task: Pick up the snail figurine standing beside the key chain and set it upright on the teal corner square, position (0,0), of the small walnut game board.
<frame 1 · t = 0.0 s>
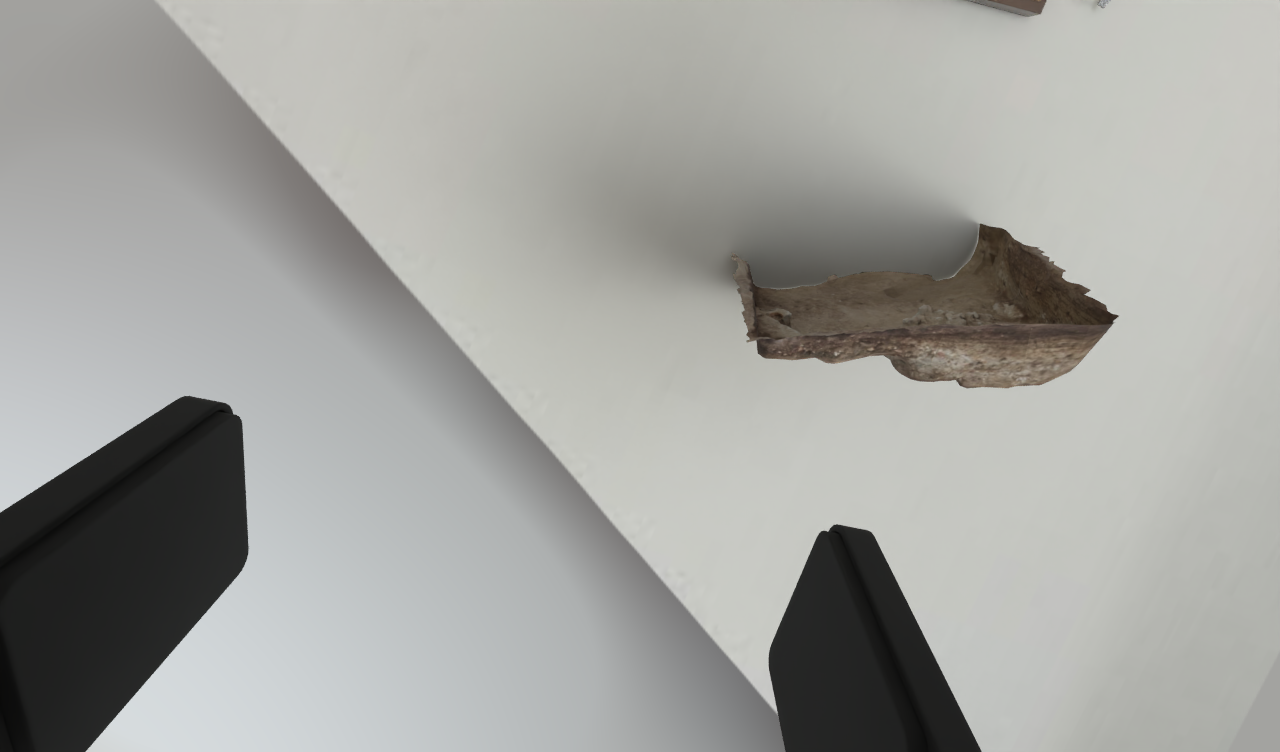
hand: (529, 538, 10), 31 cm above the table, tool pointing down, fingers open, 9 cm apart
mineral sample: (850, 263, 40), on the table
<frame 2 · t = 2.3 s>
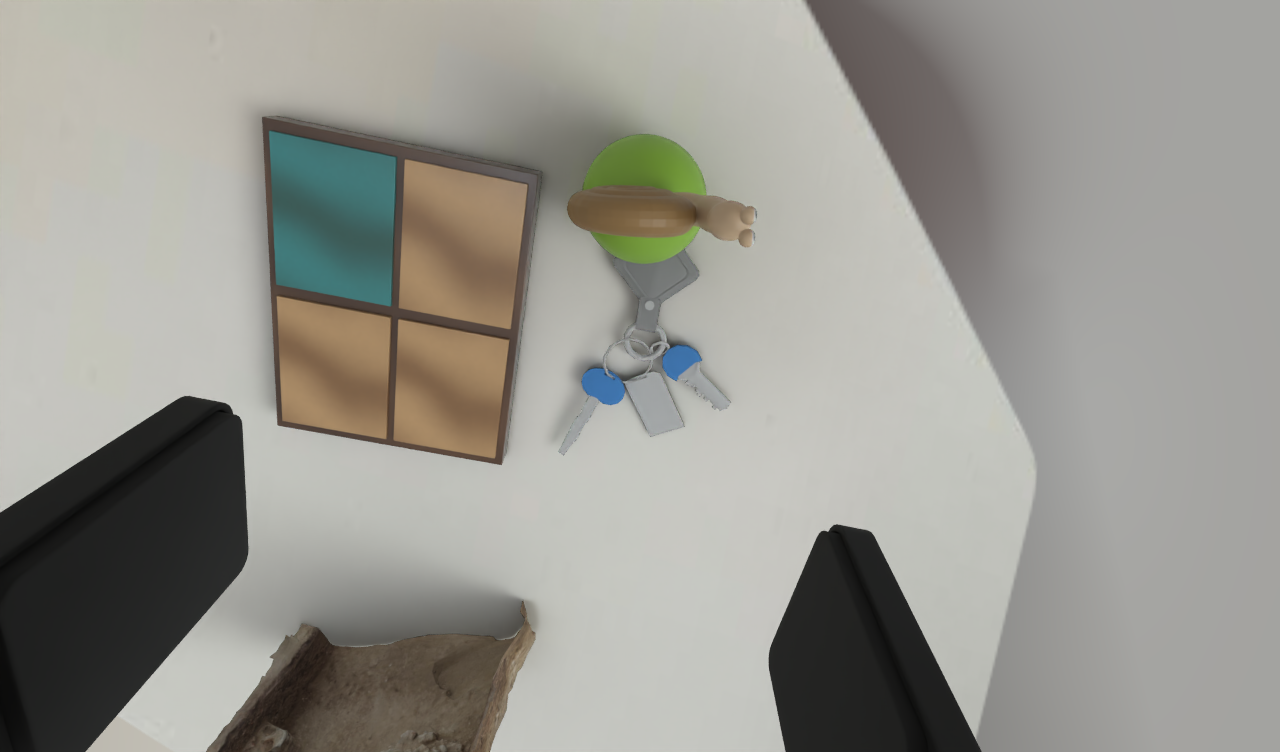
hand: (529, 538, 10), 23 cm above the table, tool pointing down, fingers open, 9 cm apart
key chain: (663, 359, 34), on the table, touching snail figurine
snail figurine: (656, 196, 30), on the table, touching key chain
game board: (404, 304, 32), on the table
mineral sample: (416, 626, 42), on the table
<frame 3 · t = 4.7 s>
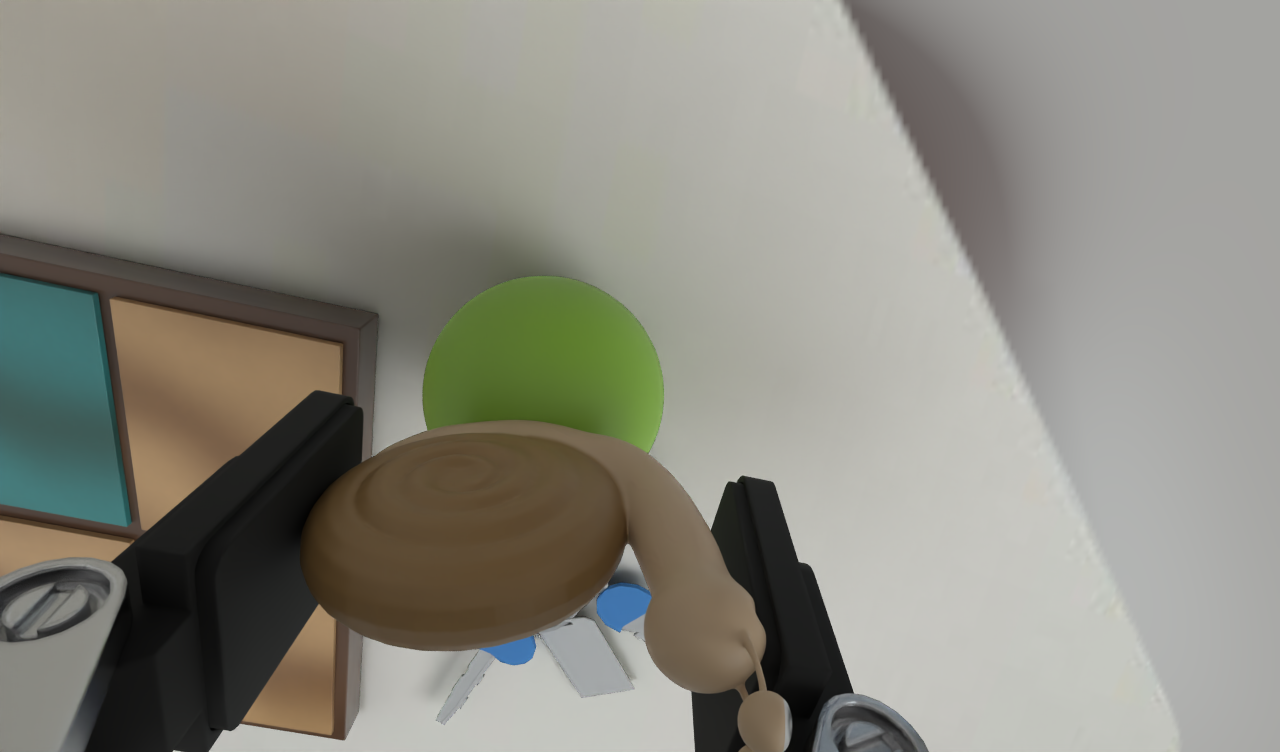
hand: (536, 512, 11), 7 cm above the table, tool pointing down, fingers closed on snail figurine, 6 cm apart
key chain: (599, 594, 21), on the table, touching snail figurine
snail figurine: (580, 357, 17), on the table, touching gripper, key chain
game board: (169, 507, 20), on the table
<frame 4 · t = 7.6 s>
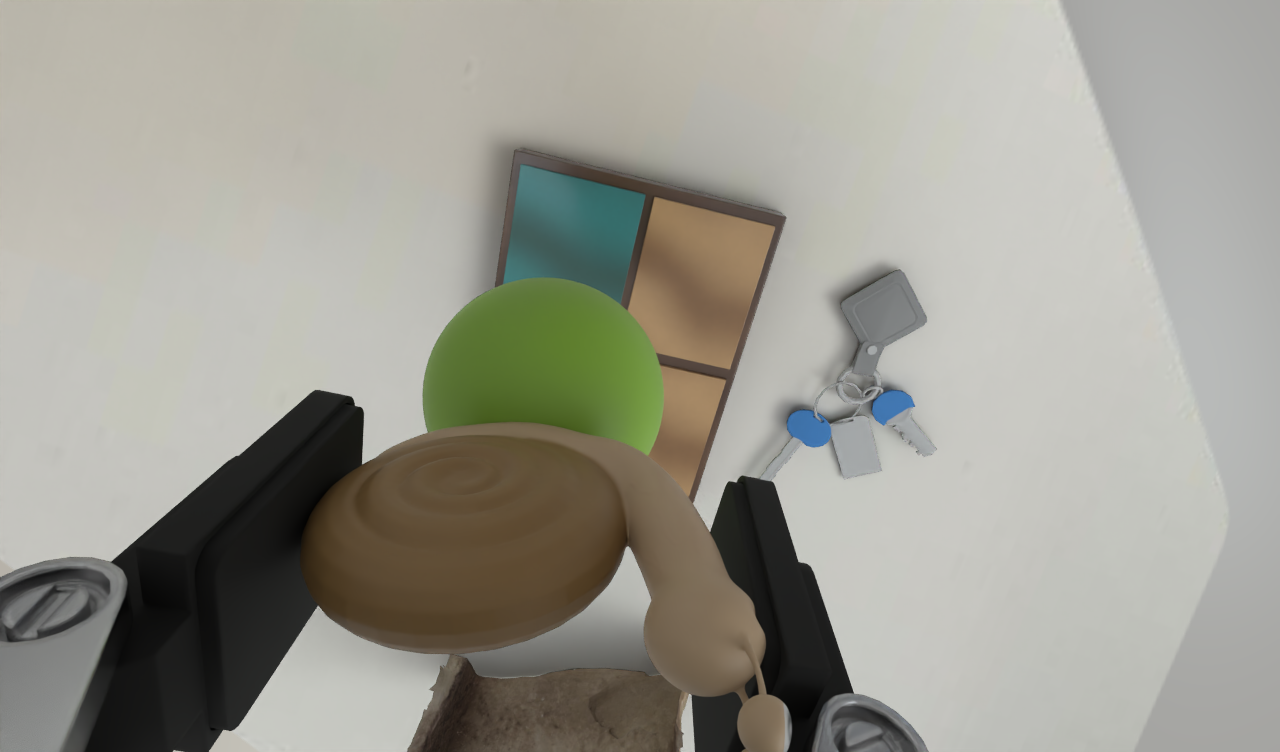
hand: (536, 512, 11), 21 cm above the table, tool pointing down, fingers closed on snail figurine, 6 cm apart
key chain: (869, 403, 33), on the table
snail figurine: (580, 358, 17), point 14 cm above the table, touching gripper
game board: (615, 339, 32), on the table
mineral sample: (567, 659, 41), on the table
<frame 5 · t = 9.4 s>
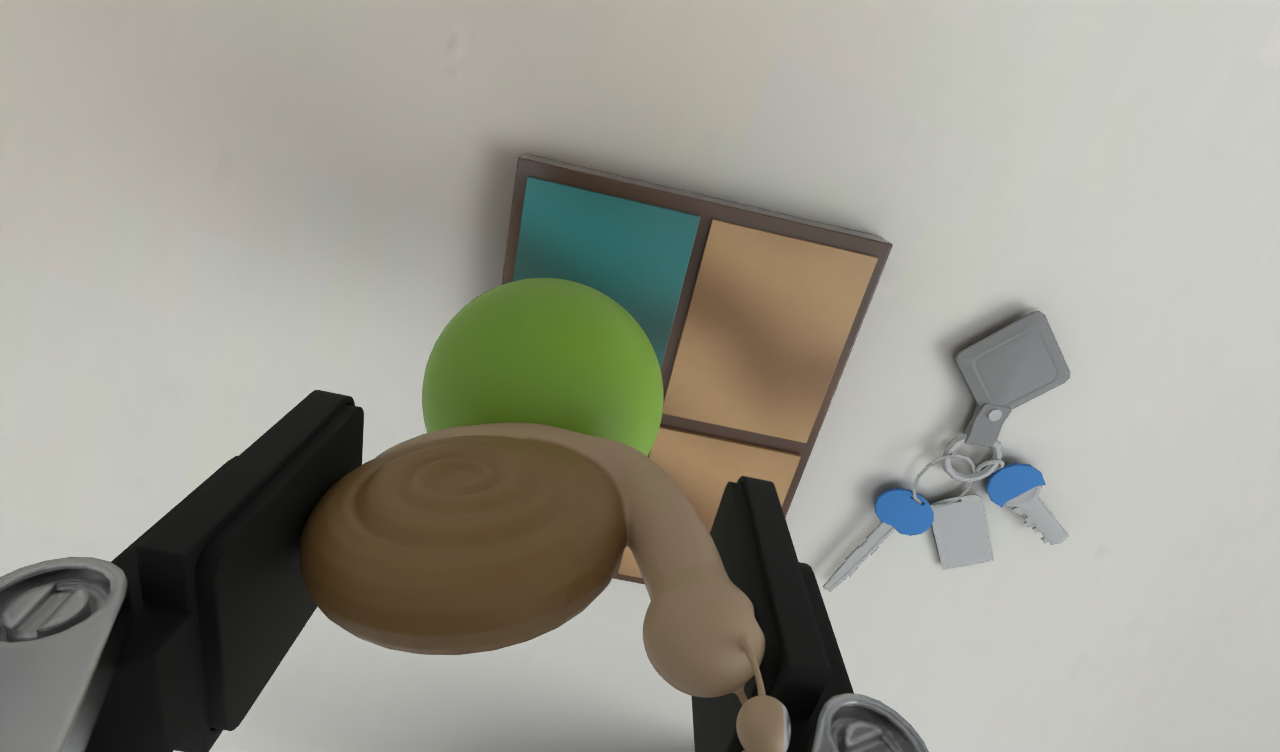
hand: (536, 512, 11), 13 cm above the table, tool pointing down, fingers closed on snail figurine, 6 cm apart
key chain: (981, 477, 25), on the table
snail figurine: (580, 358, 17), point 6 cm above the table, touching gripper
game board: (653, 402, 24), on the table
when the fingers open (8 cm above the table, at t = 11.0 s): snail figurine stays where it is, resting on game board.
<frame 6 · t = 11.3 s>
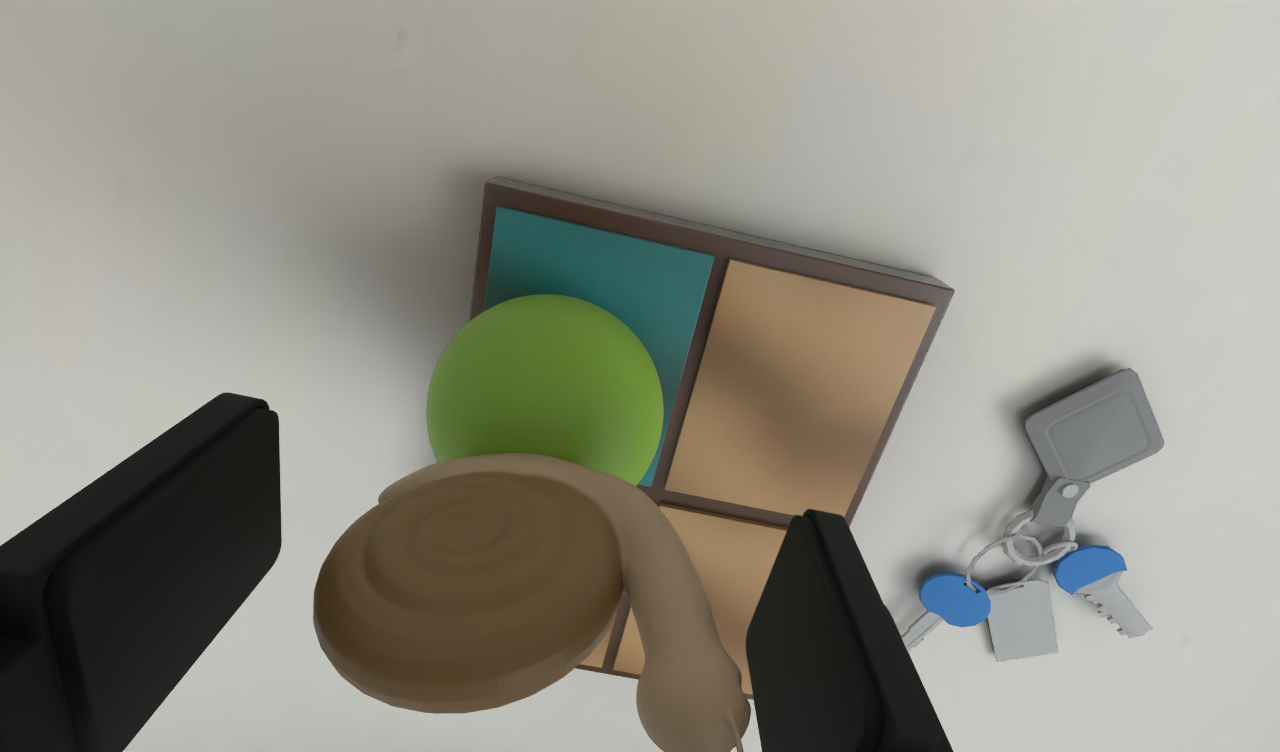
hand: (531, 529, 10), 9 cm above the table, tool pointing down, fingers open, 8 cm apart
key chain: (1047, 558, 21), on the table
snail figurine: (582, 361, 17), point 1 cm above the table, touching game board
game board: (655, 471, 20), on the table
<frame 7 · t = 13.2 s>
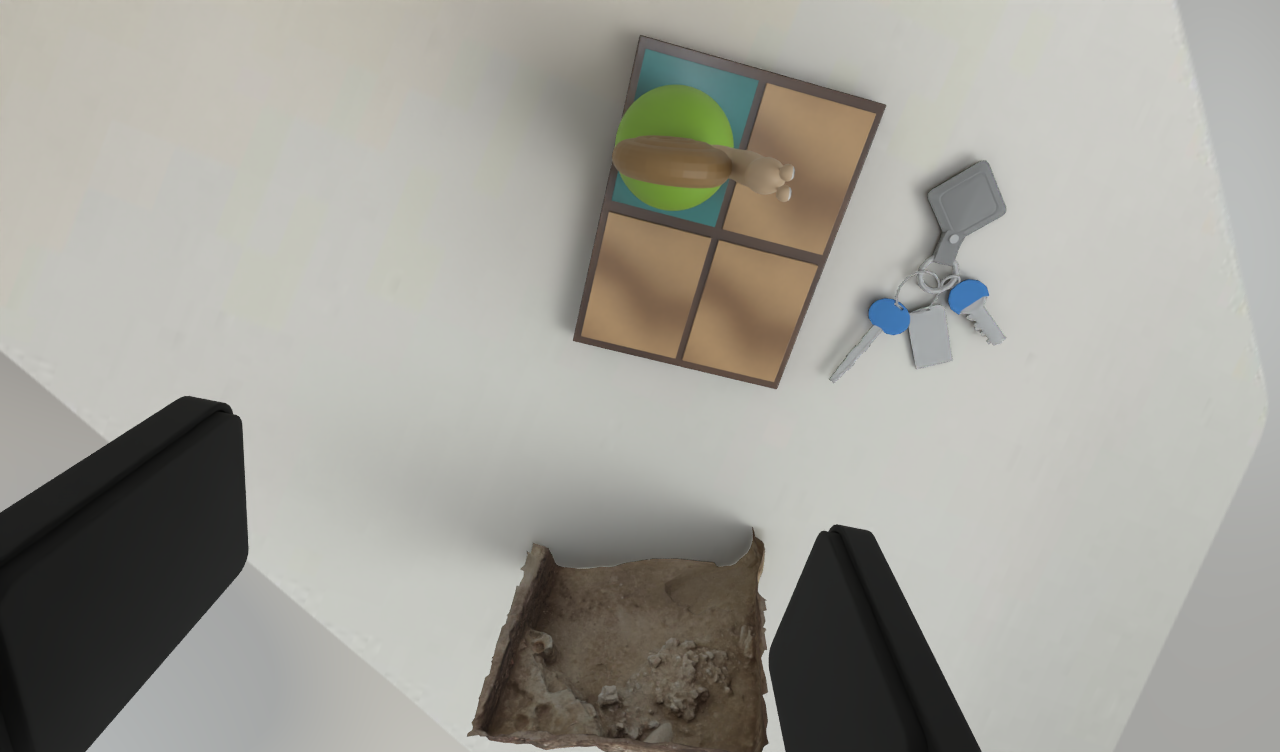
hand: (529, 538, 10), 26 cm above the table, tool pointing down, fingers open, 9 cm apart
key chain: (945, 294, 36), on the table
snail figurine: (682, 144, 31), point 1 cm above the table, touching game board
game board: (714, 228, 34), on the table
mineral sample: (642, 550, 44), on the table
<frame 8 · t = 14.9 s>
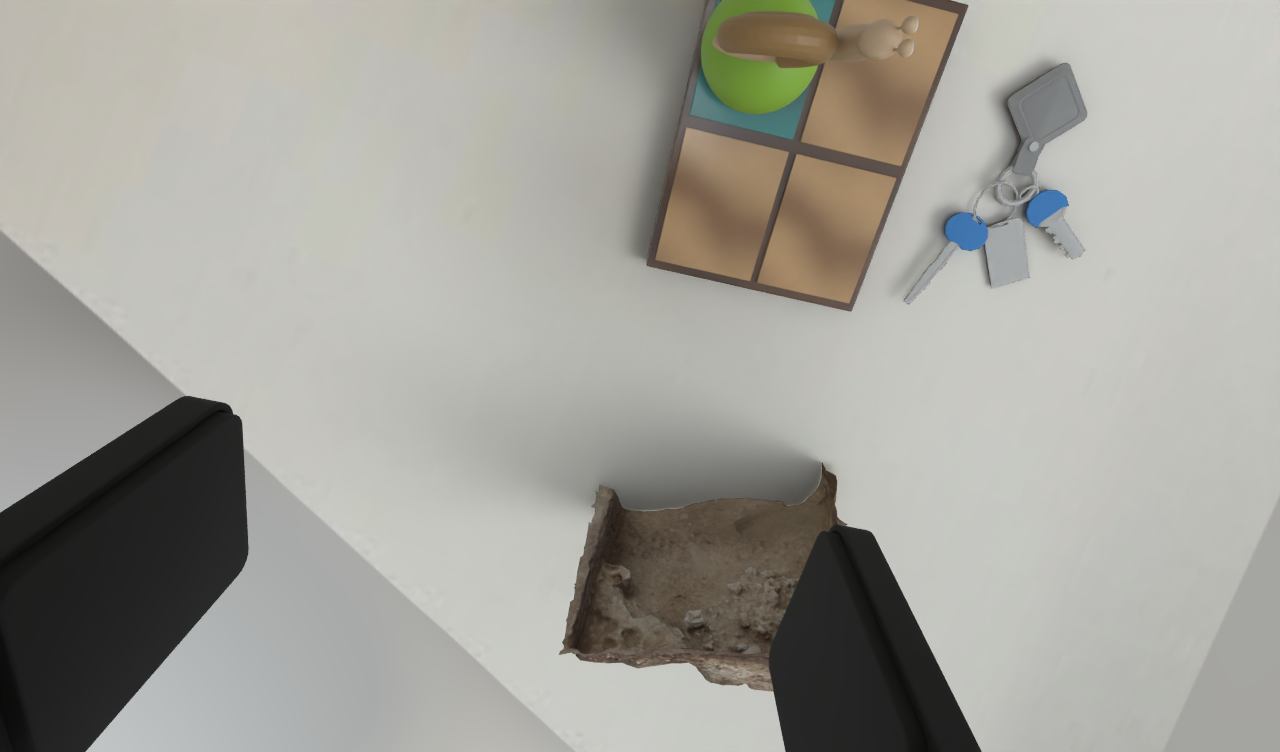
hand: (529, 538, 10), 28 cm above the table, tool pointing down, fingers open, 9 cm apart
key chain: (1022, 208, 35), on the table
snail figurine: (761, 54, 31), point 1 cm above the table, touching game board
game board: (789, 144, 34), on the table
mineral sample: (709, 490, 44), on the table
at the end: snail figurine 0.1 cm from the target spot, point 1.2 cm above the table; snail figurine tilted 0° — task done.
